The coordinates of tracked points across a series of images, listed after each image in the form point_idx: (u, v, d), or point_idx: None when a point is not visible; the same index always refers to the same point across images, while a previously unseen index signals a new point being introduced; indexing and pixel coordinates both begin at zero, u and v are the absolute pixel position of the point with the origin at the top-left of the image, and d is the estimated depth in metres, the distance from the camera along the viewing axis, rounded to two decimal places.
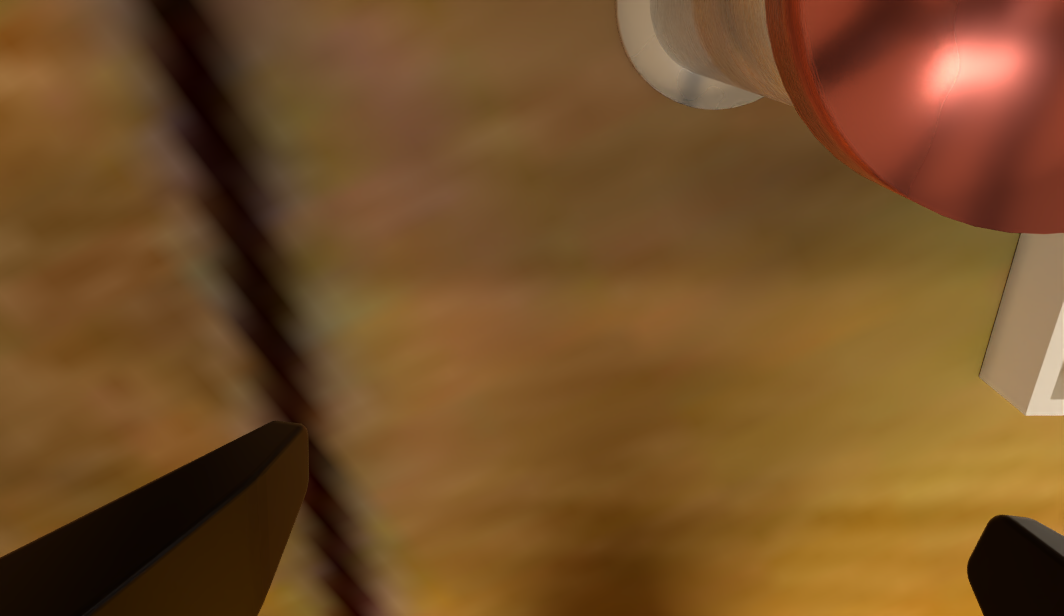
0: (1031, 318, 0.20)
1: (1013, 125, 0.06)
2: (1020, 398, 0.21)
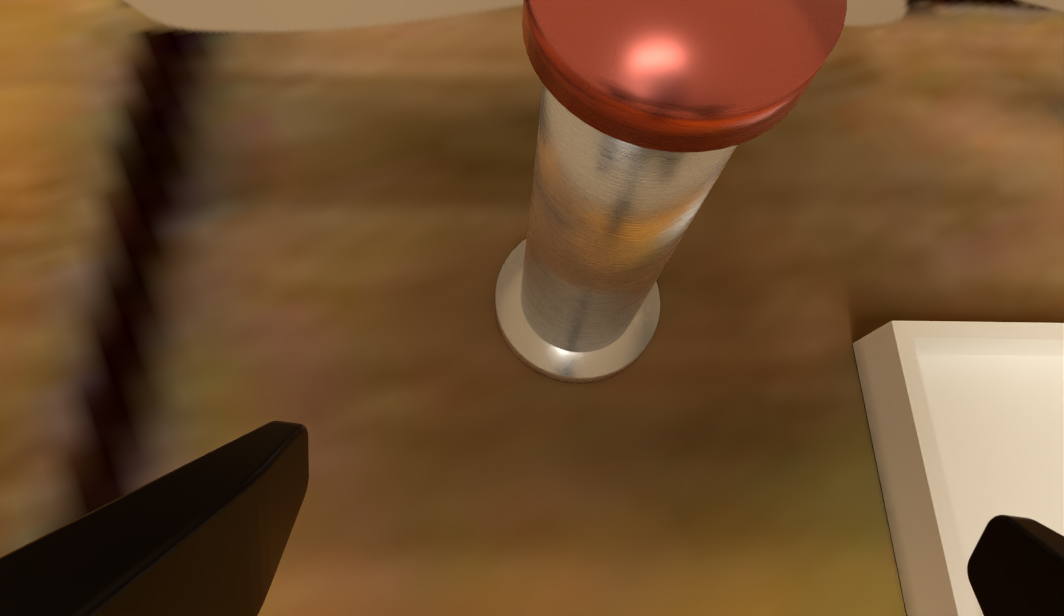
0: (929, 582, 0.20)
1: (660, 47, 0.10)
2: None
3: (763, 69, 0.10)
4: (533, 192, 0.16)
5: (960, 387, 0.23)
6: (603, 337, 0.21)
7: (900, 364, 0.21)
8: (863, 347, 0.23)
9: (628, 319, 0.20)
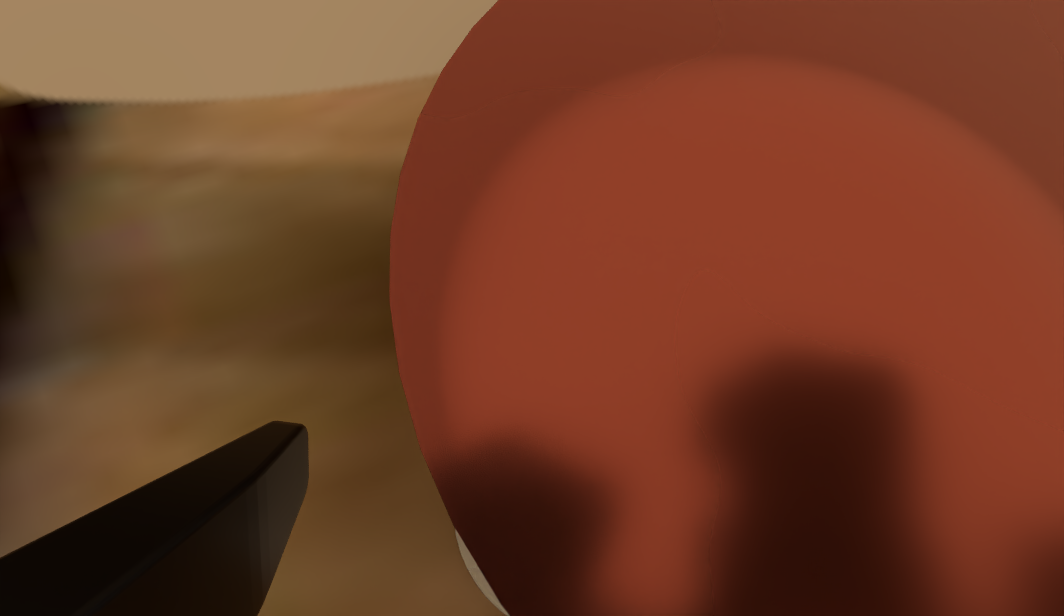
0: None
1: (880, 597, 0.03)
2: None
3: None
4: None
5: None
6: None
7: None
8: None
9: None
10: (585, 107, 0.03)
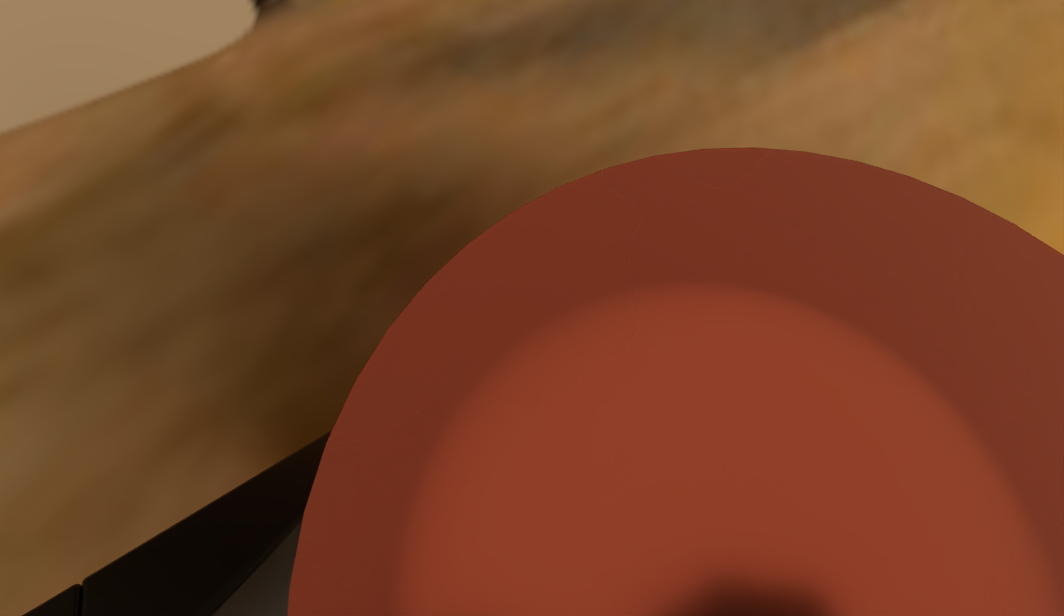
0: None
1: None
2: None
3: None
4: None
5: None
6: None
7: None
8: None
9: None
10: (497, 423, 0.03)
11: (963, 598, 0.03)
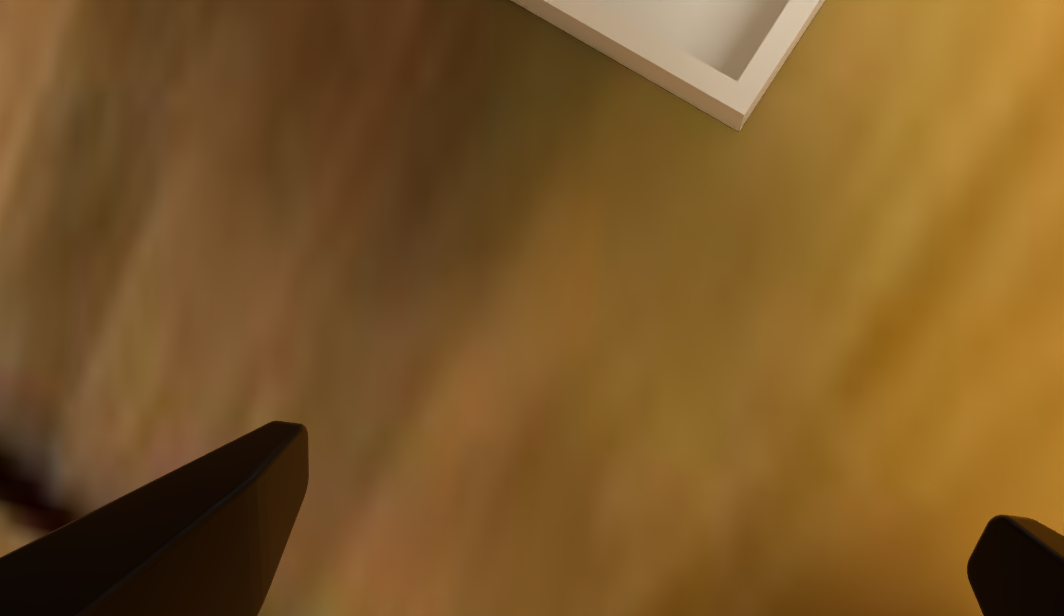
0: (645, 66, 0.17)
1: None
2: (730, 110, 0.16)
3: None
4: None
5: None
6: None
7: None
8: None
9: None
10: None
11: None
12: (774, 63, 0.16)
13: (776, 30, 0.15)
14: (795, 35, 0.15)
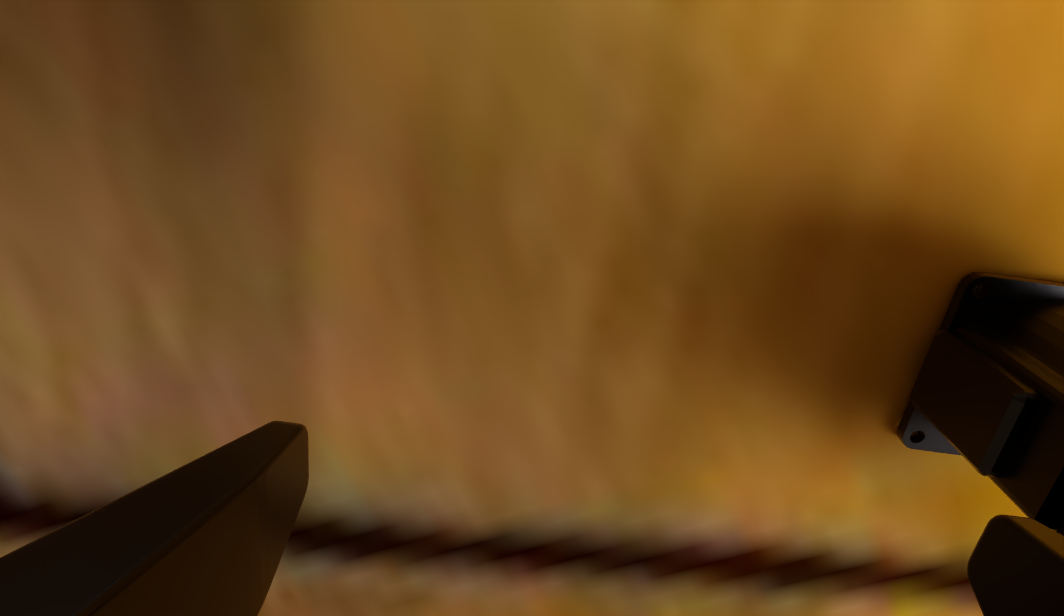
0: None
1: None
2: None
3: None
4: None
5: None
6: None
7: None
8: None
9: None
10: None
11: None
12: None
13: None
14: None
